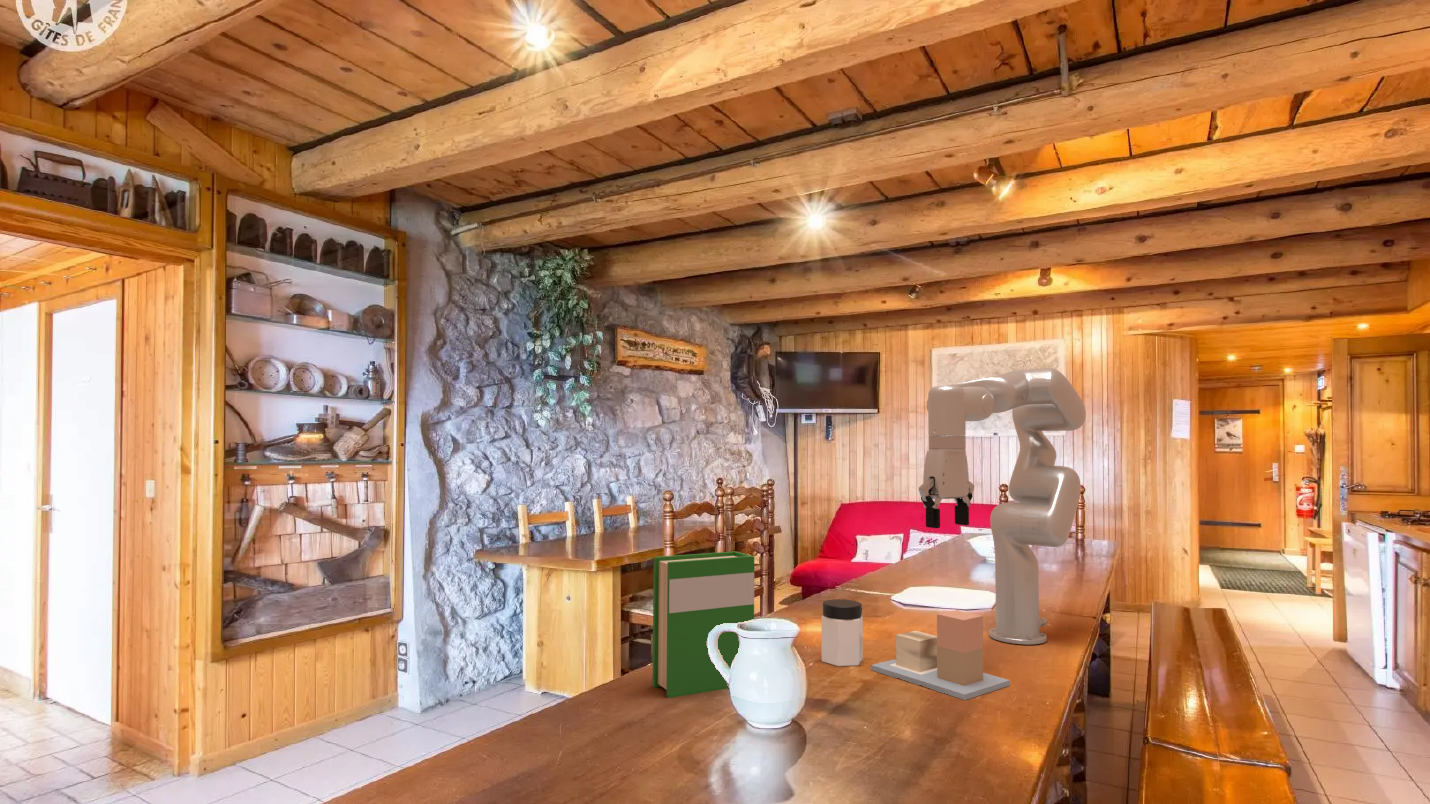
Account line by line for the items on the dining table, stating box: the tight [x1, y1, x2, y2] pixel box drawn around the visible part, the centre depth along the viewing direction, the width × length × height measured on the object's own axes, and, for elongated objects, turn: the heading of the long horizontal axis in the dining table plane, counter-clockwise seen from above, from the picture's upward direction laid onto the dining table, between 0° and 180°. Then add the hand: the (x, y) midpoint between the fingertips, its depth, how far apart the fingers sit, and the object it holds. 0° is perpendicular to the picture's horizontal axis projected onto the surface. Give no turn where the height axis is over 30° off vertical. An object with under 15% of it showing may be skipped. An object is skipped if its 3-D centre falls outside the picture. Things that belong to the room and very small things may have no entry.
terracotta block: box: [936, 609, 984, 653], centre depth 147 cm, size 6×6×6 cm
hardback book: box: [651, 551, 755, 699], centre depth 146 cm, size 18×7×24 cm, turn 117°
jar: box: [821, 598, 864, 667], centre depth 162 cm, size 9×8×12 cm
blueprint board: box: [870, 646, 1011, 701], centre depth 151 cm, size 14×22×7 cm, turn 37°
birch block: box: [895, 630, 937, 672], centre depth 155 cm, size 6×6×6 cm
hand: (947, 526), depth 162 cm, fingers open, 9 cm apart
